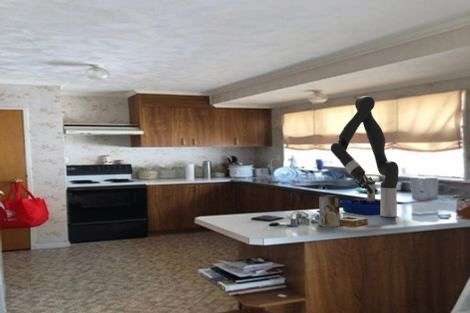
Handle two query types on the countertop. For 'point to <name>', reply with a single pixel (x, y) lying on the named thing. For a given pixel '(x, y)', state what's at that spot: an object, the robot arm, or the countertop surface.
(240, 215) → the countertop surface
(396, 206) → the robot arm
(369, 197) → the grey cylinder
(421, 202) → the countertop surface
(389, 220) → the countertop surface
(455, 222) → the countertop surface
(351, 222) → the socket
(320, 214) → the coffee box
